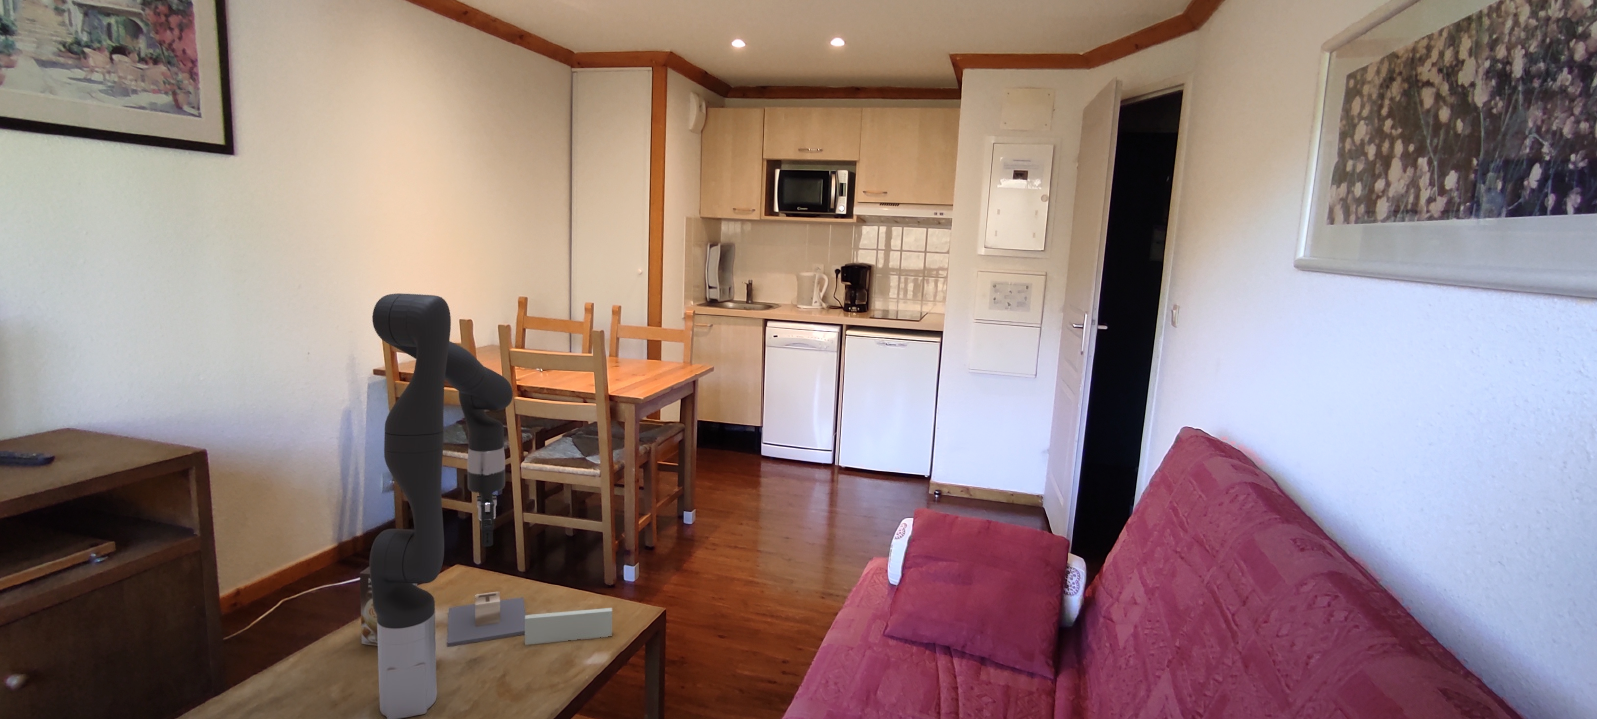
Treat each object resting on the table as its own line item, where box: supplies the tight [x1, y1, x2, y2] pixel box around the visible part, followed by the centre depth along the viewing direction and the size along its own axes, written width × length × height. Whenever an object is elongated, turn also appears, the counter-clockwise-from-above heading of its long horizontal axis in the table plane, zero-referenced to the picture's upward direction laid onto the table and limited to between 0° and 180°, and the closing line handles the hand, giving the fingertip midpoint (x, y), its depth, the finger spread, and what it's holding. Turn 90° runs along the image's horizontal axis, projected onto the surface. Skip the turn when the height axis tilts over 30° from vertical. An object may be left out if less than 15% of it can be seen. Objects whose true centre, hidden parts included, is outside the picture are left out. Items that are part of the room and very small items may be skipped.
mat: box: [446, 597, 527, 648], centre depth 161 cm, size 16×16×1 cm
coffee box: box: [359, 565, 418, 647], centre depth 151 cm, size 9×6×16 cm
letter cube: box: [474, 591, 501, 626], centre depth 161 cm, size 5×5×5 cm
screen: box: [524, 607, 613, 646], centre depth 156 cm, size 2×18×6 cm, turn 107°
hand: (486, 538), depth 158 cm, fingers open, 8 cm apart
